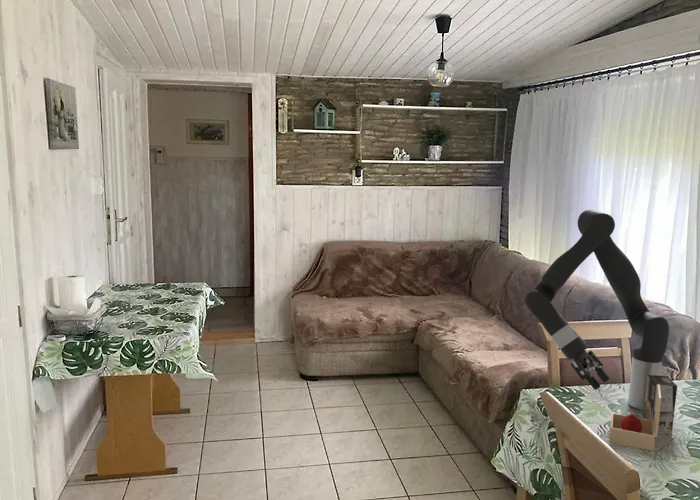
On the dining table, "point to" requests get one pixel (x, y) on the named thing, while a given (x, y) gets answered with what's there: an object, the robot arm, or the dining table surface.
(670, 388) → the coffee box
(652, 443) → the box
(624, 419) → the onion
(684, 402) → the dining table surface
